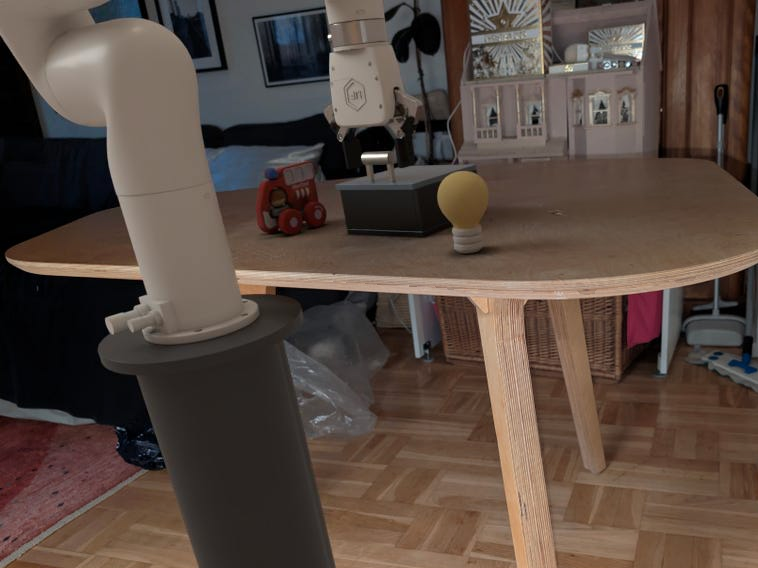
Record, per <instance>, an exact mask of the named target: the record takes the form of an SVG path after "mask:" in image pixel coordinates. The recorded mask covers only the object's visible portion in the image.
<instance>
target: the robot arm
mask: <svg viewBox="0 0 758 568" xmlns="http://www.w3.org/2000/svg"><path fill="white" fill-rule="evenodd" d="M110 1H111V0H0V37H1V38H2V40H3V42H4V43H5V44H6V46H7V47H8V49H9V50H10V52H11V53H12V55H13V57H14V58H15V60H16V61H17V63H18V64H19V66H20V68H21V69H22V70H23V71H24V73H25V74H26V76H27V77H28V80H30V82H31V83H32V85H33V87H34V88H35V89H36V91H37V92H38V93H39V95H40V96H41V97H42V98H43V100H44V101H45V102H46V103H47V104H48V105H49V106H50V107H51V108H52V109H53V110H54V111H55V112H56V113H57V114H59V115H60V116H61V117H63V118H64V119H66V120H67V121H70V122H72V123H74V124H76V125H80V126H84V127H88V128H89V127H90V128H91V127H92V128H103V127H106V153H107V162H108V169H109V173H110V177H111V180H112V184H113V188H114V191H115V195H116V196H117V199H118V202H119V206H120V209H121V212H122V216H123V218H124V222H125V226H126V229H127V232H128V236H129V238H130V242H131V245H132V248H133V253H134V255H135V259H136V261H137V264H138V265H137V266H138V268H139V271H140V275H141V278H142V281H143V285H144V289H145V291H146V294H144V295H142V296H139V297H138V300H139V303H140V304H136V305H134V307H133V309H132V310H129V311H126V312H119V313H116V314H113V315H109V316H107V317H105V318H104V321H105V325H106V328H107V330H108V332H109V334H110V333H111V334H112V335H114V334H117V333H120V332H123V331H126V330H129V329H130V331H131V332H132V333H133V332H136V331H139V330H142V332H143V335H144V338H145V339H146V340H147V341H148V342H151V343H154V344H160V345H178V344H187V343H194V342H200V341H205V340H209V339H213V338H217V337H221V336H224V335H227V334H230V333H233V332H235V331H238V330H240V329H242V328H244V327H246V326H248V325H250V324H251V323H253V322H254V321H255V320H256V319H257V318H258V317H259V314H260V312H259V308H258V305H257V304H256V303H255V302H253V301H251V300H247V299H242V297H241V295H242V294H241V290H240V285H239V281H238V277H237V272H236V269H235V264H234V260H233V257H232V253H231V249H230V246H229V245H230V244H229V240H228V237H227V232H226V229H225V225H224V221H223V217H222V213H221V208H220V204H219V201H218V196H217V192H216V189H215V185H214V180H213V178H212V174H211V170H210V165H209V161H208V158H207V152H206V149H205V143H204V138H203V137H204V136H203V133H202V125H201V114H200V97H199V84H198V76H197V71H196V68H195V65H194V61H193V59H192V56H191V54H190V53H189V50H188V48H187V47H186V45H184V43H183V42H182V41H181V39H180V38H179V37H178V36H177V35H176V34H175V33H174V32H172V31H171V30H170V29H169V28H167V27H165V26H163V25H162V24H160V23H158V22H155V21H153V20H149V19H145V18H141V17H140V18H139V17H122V18H115V19H109V20H105V21H102V22H97V23H96V22H95V20H94V18H93V16H92V14H91V13H90V11H89V10H90V9H94V8H97V7H100V6H103V5H104V4H105V3H108V2H110ZM324 4H325V11H326V16H327V21H328V27H329V33H328V34H327V39H328V42H329V44H332V49H333V52H329V60H328V61H329V62H328V63H329V64H328V67H329V69H328V70H329V72H328V73H329V84H330V85H329V86H330V95H331V103H330V104H329V105H328V106H326V108H325V109H324V110H323V115H324V117H325V119H326V121H327V122H328V124H329V126H330V129H331V131H332V132H333V133H334V134H335V135H336V139H337V140H338V141H339V142H341V145H342V150H343V156H344V162H345V167H346V170H354V169H358V168H362V167H364V166H365V165H364V164H363V163H362V160H361V156H362V154H363V150H362V145H361V139H360V138H359V137H358V138H356V137H357V135H358V133H359V130H360V128H368V127H370V128H371V127H380V126H384V125H386V124H387V126H388V127H389V129H391V131H392V132H393V133H394V134H395V136H396V137H397V138H394V139H393V144H394V149H395V157H396V163H397V168H398V167H399V168H406V167H409V166H415V165H416V158H415V157H416V156H415V149H414V142H413V136H415V134H416V130H417V129H418V126H419V124H420V122H421V118H420V117H421V115H422V111H423V107H424V103H423V101H421V100H420V99H418V98H416V97H414V96H413V95H411V94H409V93H407V92H405V89H404V84H403V78H402V75H401V71H400V67H399V63H398V59H397V57H396V53H395V51H394V48H393V45H392V44H390V43H389V36H388V30H387V24H386V18H385V10H384V4H383V0H324ZM407 110H408V115H407Z"/></svg>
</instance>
